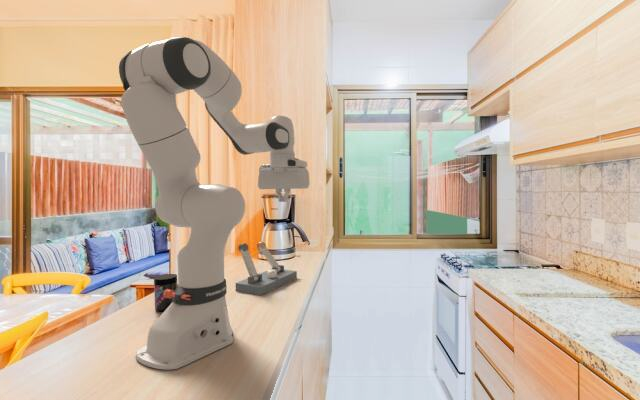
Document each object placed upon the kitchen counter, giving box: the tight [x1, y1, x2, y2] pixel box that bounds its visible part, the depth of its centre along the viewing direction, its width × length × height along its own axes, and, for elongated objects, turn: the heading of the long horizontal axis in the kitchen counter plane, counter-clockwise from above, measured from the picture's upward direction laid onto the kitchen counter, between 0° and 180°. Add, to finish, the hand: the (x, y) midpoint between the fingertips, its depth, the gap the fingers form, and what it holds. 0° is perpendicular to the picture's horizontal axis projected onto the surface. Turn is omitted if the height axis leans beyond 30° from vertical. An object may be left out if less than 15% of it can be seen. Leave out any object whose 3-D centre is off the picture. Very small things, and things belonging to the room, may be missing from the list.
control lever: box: [256, 241, 282, 272], centre depth 134 cm, size 3×3×15 cm
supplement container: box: [153, 273, 178, 313], centre depth 101 cm, size 7×7×10 cm
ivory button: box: [267, 268, 277, 278], centre depth 125 cm, size 4×4×3 cm
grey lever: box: [237, 242, 260, 282], centre depth 120 cm, size 3×3×15 cm
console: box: [235, 264, 298, 296], centre depth 126 cm, size 24×12×5 cm, turn 153°
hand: (283, 201), depth 114 cm, fingers closed
